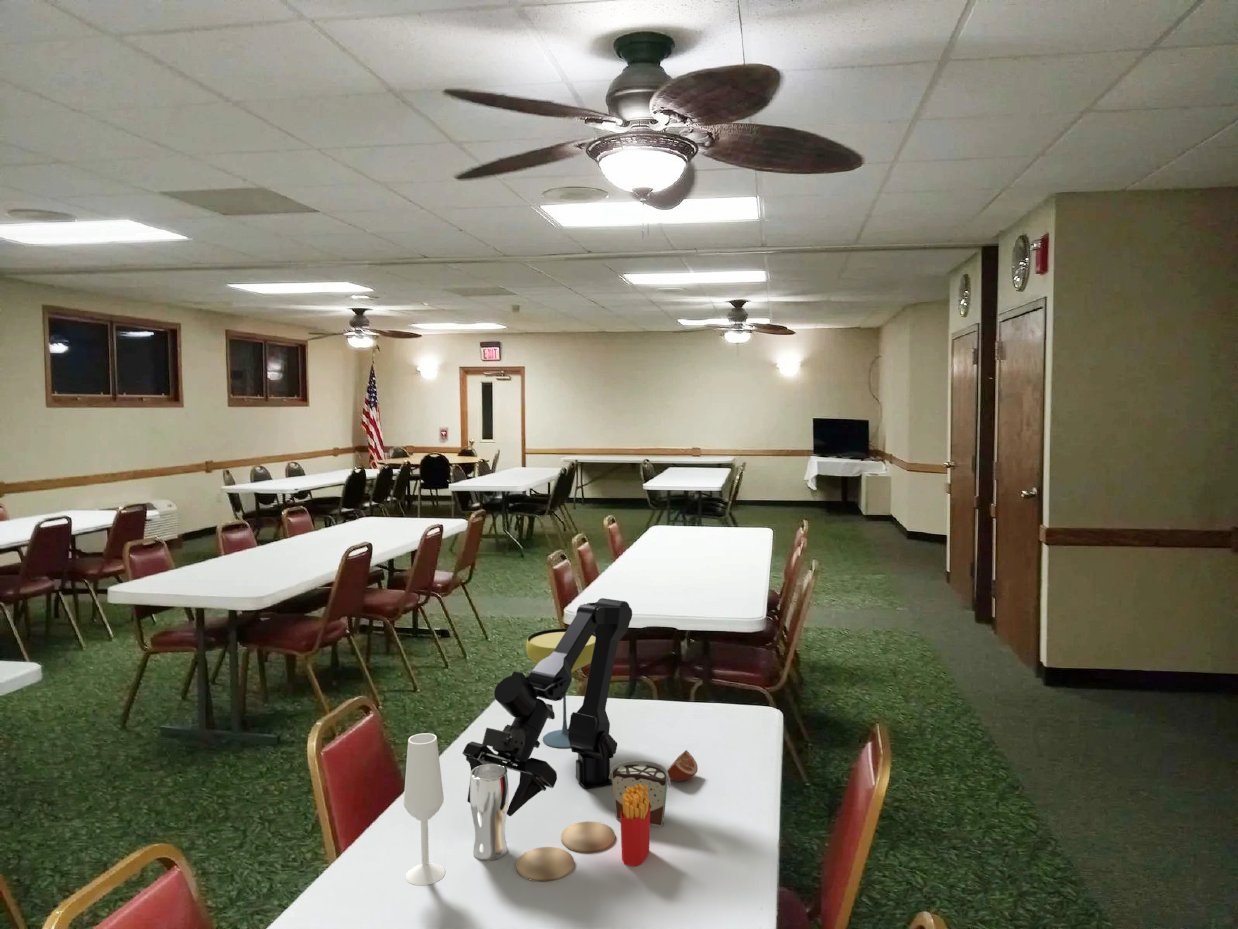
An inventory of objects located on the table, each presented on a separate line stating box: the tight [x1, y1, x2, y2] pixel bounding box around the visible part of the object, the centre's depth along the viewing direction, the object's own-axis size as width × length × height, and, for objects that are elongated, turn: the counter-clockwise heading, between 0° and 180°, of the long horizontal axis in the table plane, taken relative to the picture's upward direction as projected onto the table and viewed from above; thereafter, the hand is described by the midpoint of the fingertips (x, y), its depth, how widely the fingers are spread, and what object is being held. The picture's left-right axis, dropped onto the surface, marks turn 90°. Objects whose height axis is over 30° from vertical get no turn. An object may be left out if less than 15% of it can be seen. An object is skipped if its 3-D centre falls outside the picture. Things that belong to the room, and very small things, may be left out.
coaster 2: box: [560, 821, 616, 853], centre depth 155 cm, size 10×10×1 cm
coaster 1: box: [516, 846, 575, 882], centre depth 146 cm, size 10×10×1 cm
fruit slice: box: [666, 749, 698, 782], centre depth 179 cm, size 8×7×5 cm
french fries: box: [620, 784, 651, 867], centre depth 148 cm, size 8×4×12 cm, turn 157°
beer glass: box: [469, 764, 510, 862], centre depth 150 cm, size 7×7×15 cm
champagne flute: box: [403, 732, 446, 886], centre depth 142 cm, size 7×7×24 cm
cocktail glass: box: [525, 627, 596, 749], centre depth 200 cm, size 18×18×25 cm
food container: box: [609, 760, 672, 828], centre depth 163 cm, size 12×6×10 cm, turn 71°
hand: (488, 808), depth 149 cm, fingers open, 9 cm apart
